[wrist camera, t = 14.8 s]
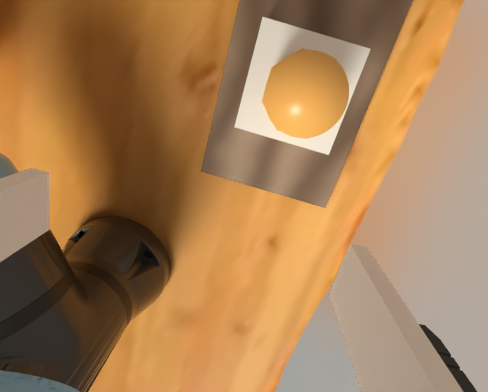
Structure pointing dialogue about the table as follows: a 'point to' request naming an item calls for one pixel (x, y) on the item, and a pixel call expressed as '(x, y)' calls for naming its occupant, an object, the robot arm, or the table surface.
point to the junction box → (274, 51)
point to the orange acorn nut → (306, 93)
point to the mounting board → (278, 152)
